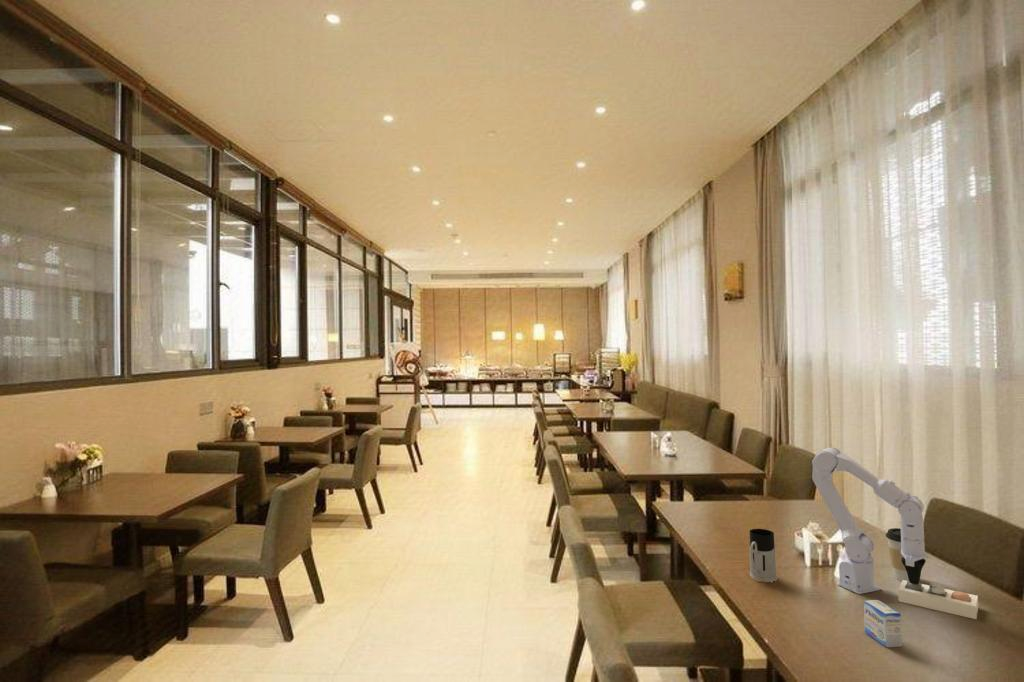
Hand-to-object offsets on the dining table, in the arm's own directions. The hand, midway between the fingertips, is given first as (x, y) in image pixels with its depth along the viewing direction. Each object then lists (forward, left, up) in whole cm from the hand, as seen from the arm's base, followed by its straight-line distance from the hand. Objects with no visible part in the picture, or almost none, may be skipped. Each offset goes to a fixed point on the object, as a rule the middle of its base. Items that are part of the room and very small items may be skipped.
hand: (914, 583), depth 169 cm
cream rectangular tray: (+3, -5, -5) cm, 7 cm away
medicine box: (-30, -14, -5) cm, 33 cm away
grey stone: (0, 0, -3) cm, 3 cm away
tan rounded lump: (+5, -10, -3) cm, 11 cm away
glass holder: (-32, +28, -5) cm, 43 cm away
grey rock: (+3, -5, -2) cm, 6 cm away
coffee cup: (+12, +12, -5) cm, 18 cm away
